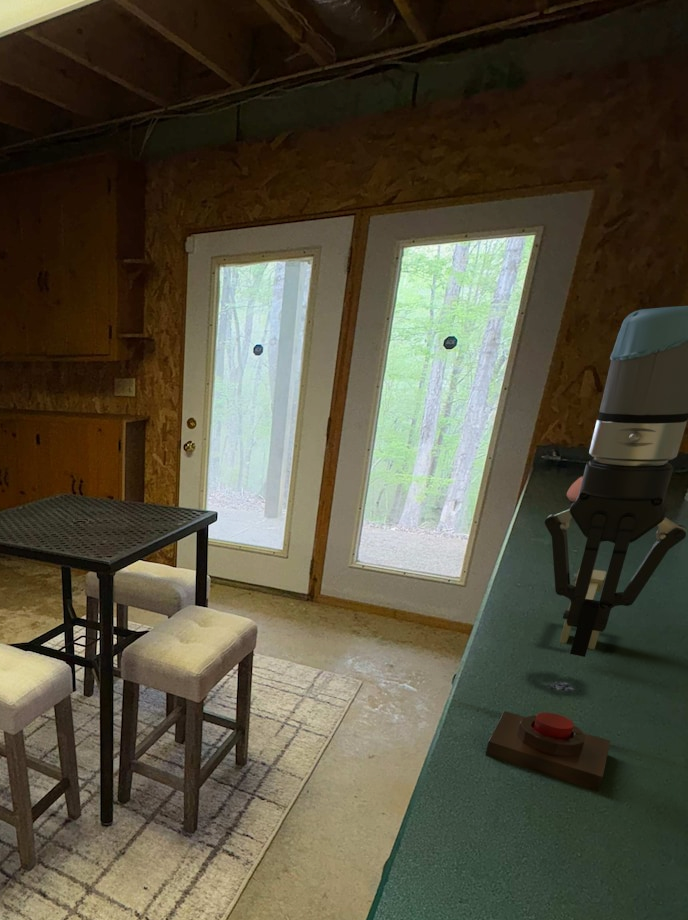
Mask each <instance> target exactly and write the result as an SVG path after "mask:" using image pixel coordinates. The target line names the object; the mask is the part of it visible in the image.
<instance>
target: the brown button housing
mask: <svg viewBox="0 0 688 920" xmlns="http://www.w3.org/2000/svg"><path fill="white" fill-rule="evenodd" d="M536 716H537V714H535V715H534V714H532V715H528V716H525V715H524V716H523V715H520V714H516V713H514V712H510V711H505V710H504V711H503V712H502V714H501V717H500V719H499V721H498V723H497V724H496V726H495V728H494V729H493V732H492V734H491V735H490V738H489V740H488V741H487V746H486V750H485V754H484V755H485V756H487V757H490V758H493V759H496V760H499V761H502V762H505V763H509V764H511V765H515V766H517V767H520V768H524V769H526V770H531V771H532V772H536V773H538V774H539V773H540V774H543V775H545V776H549V777H551V778H555V779H557V780H561V781H564V782H567V783H570V784H573V785H577V786H579V787H582V788H586V789H588V790H592V791H595V792H599V790H600V787H601V784H602V781H603V778H604V773H605V769H606V764H607V760H608V754H609V750H610V744H611V740H609V739H606V738H603V737H599V736H595V735H592V734H588V733H586V732H585V733H584V732H583V731H582V729H580V727H578V726H576V725H574V727H573V731H572V734H571V737H570V738H569V739H566V740H565V739H555V738H551V737H548V736H544V735H542V734H541V733H539V732H537V731H535V730H534V723H535V719H536Z"/></svg>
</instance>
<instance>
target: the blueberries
mask: <svg viewBox="0 0 688 920" xmlns="http://www.w3.org/2000/svg"><path fill="white" fill-rule="evenodd" d="M553 684H554V685H551V684H548V685H546V687H547V688H548V689H550V690H558V691H563V692H564V691H565V692H569V691H571V692H572V691H573V692H574V691H575V690H576V688H575V687H574V686H573V685H570V683H568V682H566V681H562V682H558V681H553Z"/></svg>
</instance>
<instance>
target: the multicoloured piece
mask: <svg viewBox="0 0 688 920" xmlns="http://www.w3.org/2000/svg"><path fill="white" fill-rule="evenodd" d="M606 576H607V571H606V570H600V569H594V570H593V573H592V577H591V581H590V585H589V588H588V593H587V595H586V599H590V600H595V597H596V593H597V592H602V590H603V587H604V583H605V579H606ZM568 614H569V611H568V609H565V610H564V611H563V614H562V619H563V620H565V619H567V618H568Z"/></svg>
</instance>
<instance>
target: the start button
mask: <svg viewBox="0 0 688 920" xmlns="http://www.w3.org/2000/svg"><path fill="white" fill-rule="evenodd" d="M536 715H537V716H536V719H535V723H534V730H535V731H537V732H539V733H541V734H542V735H544V736H548V737H551V738H555V739H565V740H566V739H569V738H570V737H571V734H572V731H573V727H574V726H575V723H574V722H573V721H572V720H571V719H570V718H568V717H566V716H563V715H561V714H558V713H553V712H539V713H537V714H536Z"/></svg>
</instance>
